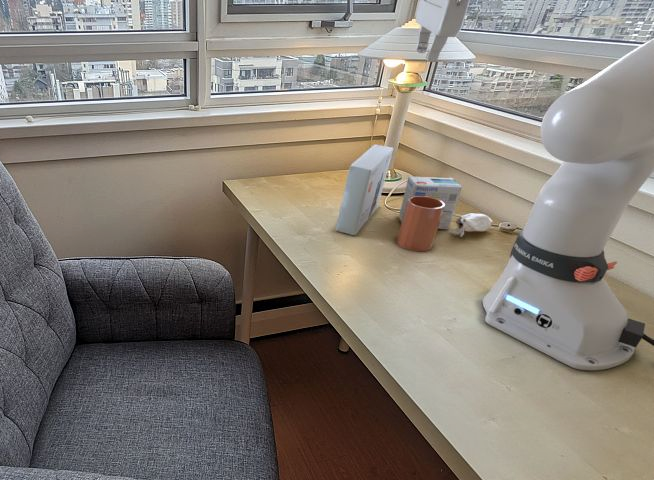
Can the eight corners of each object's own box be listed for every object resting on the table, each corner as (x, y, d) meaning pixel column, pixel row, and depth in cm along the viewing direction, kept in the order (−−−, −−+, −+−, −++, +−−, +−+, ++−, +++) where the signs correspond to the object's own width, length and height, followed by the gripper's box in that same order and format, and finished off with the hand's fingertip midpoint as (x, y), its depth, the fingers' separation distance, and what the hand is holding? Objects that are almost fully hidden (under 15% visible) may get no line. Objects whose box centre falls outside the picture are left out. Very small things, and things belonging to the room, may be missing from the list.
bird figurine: (470, 246, 109) (497, 227, 113) (470, 220, 106) (498, 201, 109) (450, 242, 113) (477, 223, 117) (449, 216, 110) (477, 198, 113)
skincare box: (357, 237, 111) (371, 169, 102) (334, 231, 113) (346, 165, 104) (380, 207, 125) (394, 146, 117) (359, 203, 128) (372, 142, 119)
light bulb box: (440, 218, 119) (453, 176, 113) (449, 230, 114) (464, 186, 108) (396, 216, 120) (407, 175, 114) (403, 228, 115) (415, 184, 109)
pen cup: (439, 248, 106) (452, 205, 101) (413, 253, 104) (425, 210, 98) (415, 234, 112) (426, 193, 106) (389, 239, 109) (400, 198, 104)
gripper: (490, -26, 76) (456, 69, 84) (456, -30, 92) (430, 49, 101) (450, -29, 77) (419, 65, 85) (423, -33, 93) (399, 46, 101)
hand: (425, 56), depth 93 cm, fingers open, 8 cm apart
